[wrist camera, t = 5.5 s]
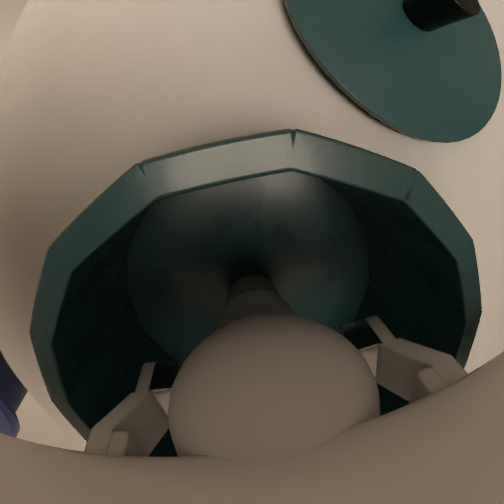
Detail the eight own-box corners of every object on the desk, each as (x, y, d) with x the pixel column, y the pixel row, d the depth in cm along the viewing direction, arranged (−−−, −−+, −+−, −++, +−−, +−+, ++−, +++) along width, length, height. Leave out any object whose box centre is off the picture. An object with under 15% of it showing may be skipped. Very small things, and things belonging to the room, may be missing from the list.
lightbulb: (328, 296, 15) (431, 468, 5) (240, 354, 16) (260, 536, 6) (264, 207, 13) (373, 389, 3) (166, 281, 14) (104, 490, 4)
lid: (313, 152, 13) (359, 158, 8) (252, -78, 7) (262, -129, 3) (504, 141, 13) (556, 151, 9) (452, -39, 8) (490, -57, 3)
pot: (168, 395, 18) (153, 500, 10) (82, 184, 13) (-36, 235, 5) (374, 352, 18) (429, 443, 10) (366, 125, 13) (495, 123, 5)
